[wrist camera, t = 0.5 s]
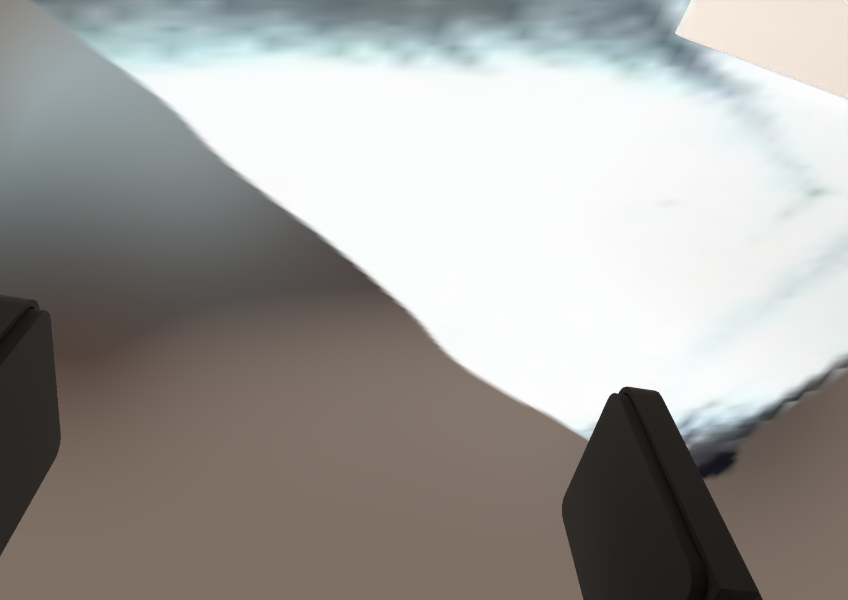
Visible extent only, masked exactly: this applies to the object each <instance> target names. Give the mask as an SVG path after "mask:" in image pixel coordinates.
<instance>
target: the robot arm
mask: <svg viewBox="0 0 848 600" xmlns="http://www.w3.org/2000/svg"><path fill="white" fill-rule="evenodd" d="M60 439H61V435H60V422H59V411H58V399H57V387H56V376H55V365H54V353H53V341H52V329H51V319H50V315H49V313H48V312H47V311H42V310H40V309H39V305H38V304H37V301H35V300H32V299H25V298H18V297H11V296H3V295H0V555H1V553H2V552H3V550H4V548H5V547H6V545H7V543H8V541H9V539H10V538H11V536H12V534H13V532H14V531H15V529H16V527H17V525H18V523H19V522H20V520H21V518H22V516H23V515H24V513H25V511H26V509H27V508H28V506H29V504H30V502H31V501H32V499H33V497H34V495H35V493H36V492H37V490H38V488H39V487H40V485H41V483H42V481H43V479H44V478H45V476H46V474H47V472H48V471H49V469H50V467H51V465H52V463H53V462H54V460H55V458H56V456H57V453H58V450H59V446H60ZM562 517H563V521H564V525H565V529H566V533H567V537H568V540H569V545H570V548H571V553H572V557H573V560H574V564H575V568H576V572H577V576H578V580H579V584H580V588H581V592H582V596H583V599H584V600H762V597H761V595H760V594H759V591H758V589H757V587H756V585H755V583H754V581H753V579H752V577H751V575H750V573H749V571H748V569H747V567H746V565H745V563H744V561H743V559H742V557H741V555H740V553H739V551H738V549H737V547H736V545H735V543H734V541H733V539H732V537H731V535H730V533H729V531H728V529H727V527H726V525H725V523H724V521H723V519H722V517H721V515H720V513H719V511H718V509H717V507H716V505H715V503H714V501H713V499H712V497H711V495H710V493H709V491H708V489H707V487H706V485H705V483H704V481H703V479H702V477H701V475H700V473H699V471H698V469H697V467H696V465H695V463H694V461H693V459H692V457H691V455H690V452H689V450H688V448H687V446H686V444H685V442H684V440H683V438H682V436H681V434H680V432H679V430H678V428H677V426H676V424H675V422H674V420H673V418H672V416H671V414H670V412H669V410H668V408H667V406H666V404H665V402H664V400H663V398H662V396H661V395H660V394H659V392H657V391H653V390H647V389H640V388H633V387H623V388H622V389H621V390H620V392H619V393H618V394H617V393H613V394H611V395H610V397H609V398H608V400H607V402H606V405H605V407H604V409H603V411H602V414H601V416H600V418H599V420H598V422H597V425H596V427H595V429H594V431H593V434H592V436H591V438H590V440H589V443H588V445H587V447H586V449H585V451H584V454H583V456H582V458H581V460H580V463H579V465H578V467H577V469H576V471H575V474H574V476H573V478H572V480H571V483H570V485H569V487H568V489H567V491H566V494H565V496H564V499H563V504H562Z"/></svg>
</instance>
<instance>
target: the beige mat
mask: <svg viewBox="0 0 848 600" xmlns="http://www.w3.org/2000/svg"><path fill="white" fill-rule="evenodd" d="M675 34H677V35H679V36H680V37H683V38H686V39H688V40H691V41H694V42H696V43H699V44H702V45H704V46H707V47H710V48H712V49H715V50H718V51H720V52H723V53H726V54H729V55H731V56H734V57H737V58H739V59H742V60H745V61H747V62H750V63H753V64H755V65H758V66H761V67H763V68H766V69H769V70H771V71H774V72H777V73H779V74H782V75H785V76H787V77H790V78H793V79H795V80H798V81H801V82H803V83H806V84H809V85H811V86H814V87H817V88H819V89H822V90H825V91H828V92H830V93H833V94H836V95H838V96H841V97H844V98H846V99H848V0H691V2H690V4H689V6H688V8H687V10H686V12H685V14H684V16H683V18H682V20H681V22H680V24H679V26H678V28H677V30H676V32H675Z"/></svg>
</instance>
